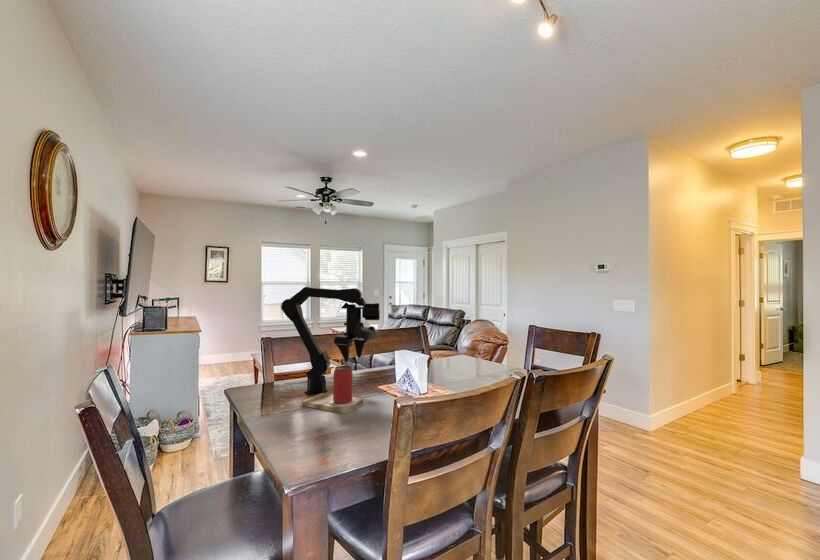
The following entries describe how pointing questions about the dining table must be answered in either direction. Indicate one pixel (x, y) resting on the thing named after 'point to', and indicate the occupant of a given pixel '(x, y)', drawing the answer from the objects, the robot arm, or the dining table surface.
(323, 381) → the robot arm
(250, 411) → the dining table surface
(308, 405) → the birch board
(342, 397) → the beer can
